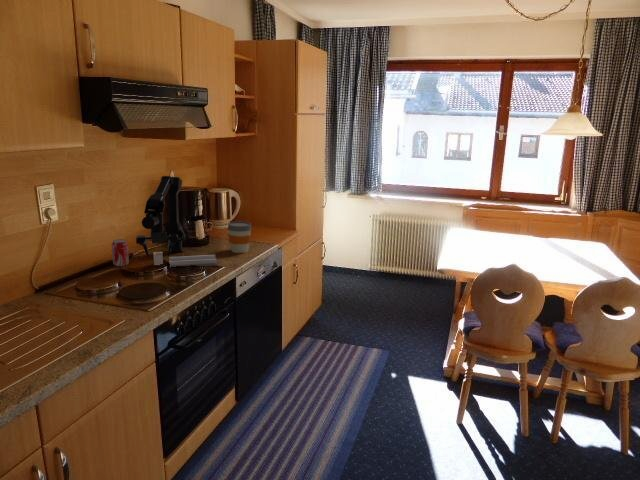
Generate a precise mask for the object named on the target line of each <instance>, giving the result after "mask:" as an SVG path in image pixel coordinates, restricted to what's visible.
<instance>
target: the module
mask: <svg viewBox="0 0 640 480" xmlns="http://www.w3.org/2000/svg"><path fill="white" fill-rule="evenodd" d="M163 259H164V258H163V251H155V252H153V266H154V265H160V264H163V265H164V262H163V261H164V260H163Z"/></svg>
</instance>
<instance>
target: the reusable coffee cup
mask: <svg viewBox="0 0 640 480" xmlns="http://www.w3.org/2000/svg"><path fill="white" fill-rule="evenodd" d="M227 230H228V240H229V243H230V249H231V252H232V253H236V254H243V253H247V252H249V246H250V242H251V238H252V237H251V236H252V234H251V231H252V223H251V222H249V221H232V222H229V223H228V224H227Z"/></svg>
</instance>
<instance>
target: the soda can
mask: <svg viewBox="0 0 640 480" xmlns="http://www.w3.org/2000/svg"><path fill="white" fill-rule="evenodd" d="M111 256H112V265H114V266H116V267H125V265H126V266H127V265H128V264H129V246H128V242H127V240H126V239H124V238H120V239H119V238H118V239H114V240H112V243H111Z"/></svg>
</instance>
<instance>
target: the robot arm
mask: <svg viewBox="0 0 640 480" xmlns="http://www.w3.org/2000/svg"><path fill="white" fill-rule="evenodd" d="M182 185H183V180H182V179H181V178H180V177H179V176H170V175H162V176H161V177H160V182H159V184H158V186H157V188H156V190H155V191H154V193H153V194H151V195H149V197H148V199H147V200H146V203H145V208H144V214H145V217H143V218H142V220H141V225H142V227H143V228H144V229H146V230H150V236H146V234H140V235H136V237H135V244H138V245H139V246H141V247H142V248H143V249H144V251H145V254H146V257H148V258H149V249H148V243H147V242H151V244H163V243H164V241H168V245H167V246H168V247H167V256H168V257H170V256H169V255H170V254H172V253H183V252H184V251H183V250H184V249H183V242H184V241H186V233H185V232H184V230H183V225H182V224H181V222H180V220H179V218H180V216H179V215H180V214H179V212H180V211H179V193H180V192H181V190H182ZM167 194H168V214H169V215H168V217H169V220H168V221H169V222H168V224H167V225H166V227H165V231H164V212H165V208H166V200H165V199H166V196H167Z"/></svg>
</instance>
